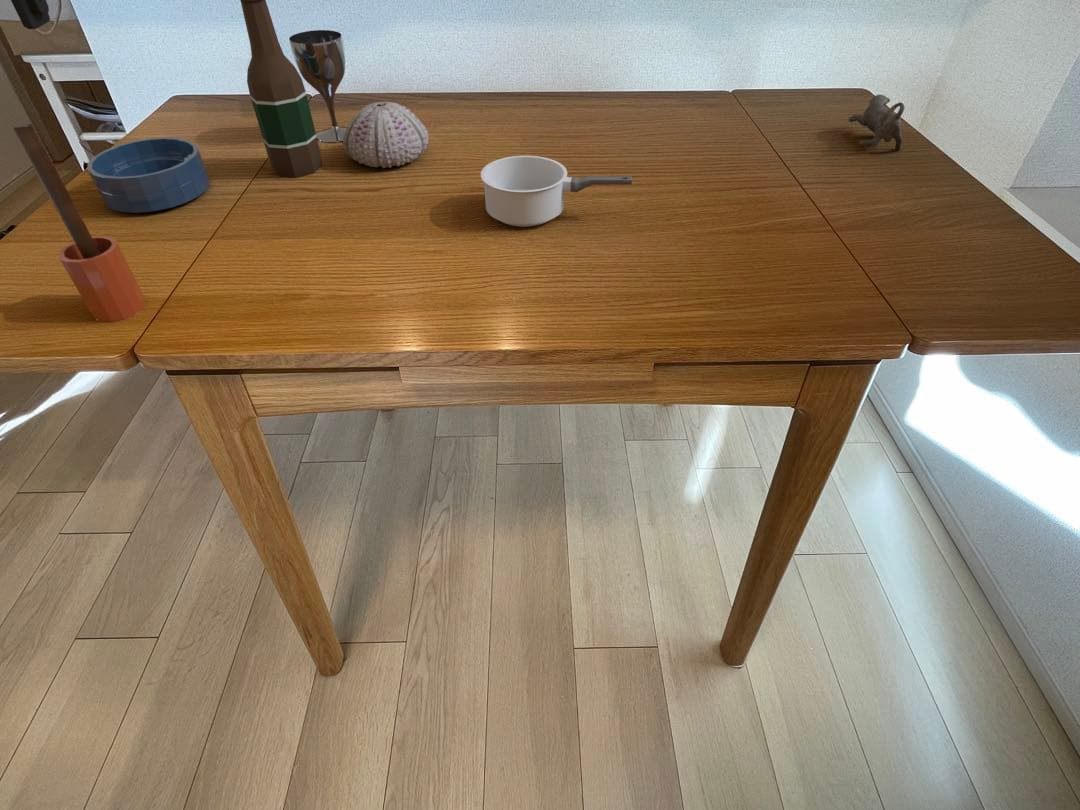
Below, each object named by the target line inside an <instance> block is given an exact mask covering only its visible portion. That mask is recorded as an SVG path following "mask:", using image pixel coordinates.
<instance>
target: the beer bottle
mask: <svg viewBox="0 0 1080 810" xmlns="http://www.w3.org/2000/svg"><path fill="white" fill-rule="evenodd" d="M239 1H240V4H241V9H242V13H243V18H244V21H245V23H244V24H245V27H246V31H247V36H248V40H249V46H250V52H251V53H250V54H251V57H250V60H249V64H248V66H247V75H246V76H247V77H246V84H247V87H248V92H249V97H250V100H251V103H252V107H253V110H254V113H255V116H256V120H257V124H258V126H259V130H260V134H261V137H262V140H263V144H264V147H265V150H266V154H267V157H268V159H269V162H270V166H271V168H272V169H273V171H275V172H276V174H277V175H278V177H287V178H300V177H303V176H304V177H305V176H308V175H312V174H314V173H316V172H317V171H318V170H319V169H320V168H321V167H322V166H323V160H322V153H321V149H320V145H319V140H317V136H316V134H317V133H316V129H315V125H314V120H313V116H312V112H311V108H310V104H309V99H308V95H307V91H306V87H305V84H304V81H303V77H302V75H301V74H300V72H298V71H299V70H297V68H296V66H295V65H294V64H293V63H292V62H291V61H290V60H289V58H288V57H287V56H286V55H285V54H284V51H283V49H282V46H281V44H280V42H279V39H278V35H277V32H276V29H275V26H274V23H273V19H272V16H271V13H270V9H269V6H268V3H267V0H239Z"/></svg>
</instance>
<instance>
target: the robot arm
mask: <svg viewBox="0 0 1080 810" xmlns="http://www.w3.org/2000/svg"><path fill="white" fill-rule="evenodd" d="M10 2H11V3H12V6H13V7H14V10H15V13H16V14H17V16H18V18H19V20H20V23H21V24H22V26H23V27H24V28H26V29H28V30H37V29H39V28H40V27H42V26H44V25H45V24H48V23H49V22H50V21H51V17H50V13H49V12H50V8H49V5H48V2H47V0H10Z"/></svg>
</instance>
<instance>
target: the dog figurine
mask: <svg viewBox="0 0 1080 810" xmlns="http://www.w3.org/2000/svg"><path fill="white" fill-rule="evenodd" d="M890 102H891V98H889V97H887V96H886V95H884V94H877V95H874V96H873V97H872V98H871V99H870V100H869V103H868V105H867V107H866V109H865V110H864V112H863V114H853V115H851V116H849V118H848V121H847V122H849V123H853V122H858V123H859V124H860V125H861V126H863V127H866V128H867V129H868V130H869V131H871V132H872V133H873V134H874V135H873V137H872V138H868V139H863V140H861V142H859V145H860V146H863V147H864V146H865V147H877V146H878V145H879V144H880V142H881V140H883V141H884V142H885V143H890V142H891V141H892V139H894V141H895V146H894V149H895V150H896V151H901V150H902V146H903V141H904V139H903V136H902V121H901V117H902V115H903V113H904V111H905V104H904V103H903V102H898V103H895V104H893V105H892V106H891V107H890V108H889V109H888V110H887V111H886V109H885V108H886V106H887V104H889V103H890ZM897 108H899V109H898V111H897V112H895V110H896V109H897Z"/></svg>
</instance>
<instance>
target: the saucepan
mask: <svg viewBox="0 0 1080 810" xmlns="http://www.w3.org/2000/svg"><path fill="white" fill-rule="evenodd" d="M480 178H481V180H482V181H483V186H484V198H485V199H484V200H485V201H484V202H485V210H486V212H487V214H488V215H489V216H491V217H492V218H493V219H495V220H497V221H500V222H501V223H503V224H505V225H509V226H514V227H527V228H528V227H535V226H539V225H544V224H545V223H547V222H549V221H551V220H553V219H555V218H557V217H558V216H559V215H560V214H562V212H563V210H564V208H565V207H564V206H565V192H568V193H569V192H571V193H578V192H581V191H582V190H584V189H585V188H589V187H591V186H598V185H600V186H601V185H602V186H604V185H605V186H607V185H608V186H609V185H611V186H612V185H613V186H615V185H617V186H618V185H619V186H621V185H623V186H624V185H625V186H626V185H628V186H629V185H633V176H606V175H605V176H599V175H598V176H596V175H595V176H593V175H591V176H584V177H576V176H568V170H567V168H566V167H565V165H563V164H562V163H561V162H559V161H557V160H554V159H553V158H552V159H551V158H548V157H545V156H537V155H514V156H508V157H507V156H506V157H503V158H499V159H497V160H494V161H490V162H489V163H488V164H486V165H485V166H484V167H483V168H482V169H481V171H480Z"/></svg>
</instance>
